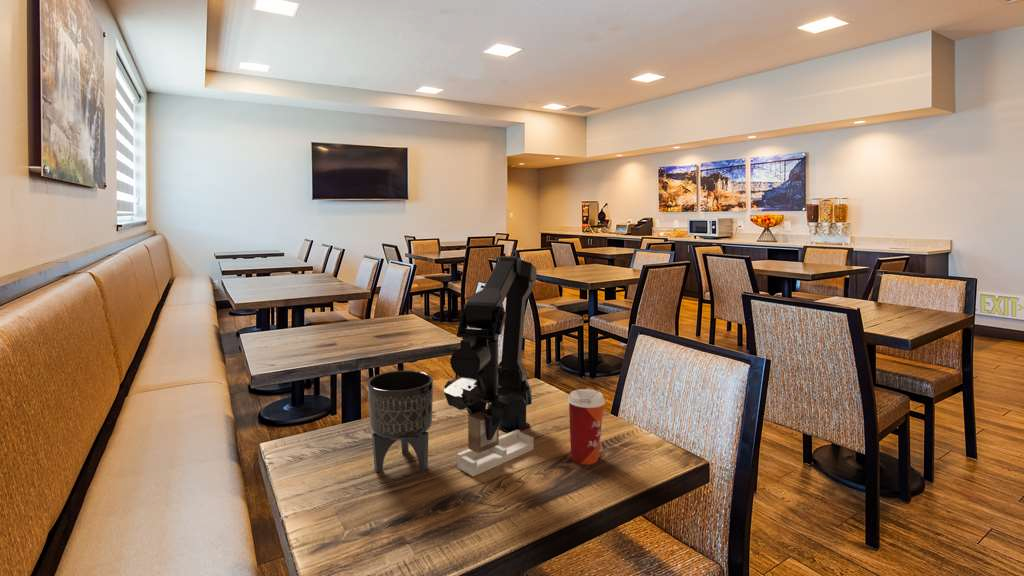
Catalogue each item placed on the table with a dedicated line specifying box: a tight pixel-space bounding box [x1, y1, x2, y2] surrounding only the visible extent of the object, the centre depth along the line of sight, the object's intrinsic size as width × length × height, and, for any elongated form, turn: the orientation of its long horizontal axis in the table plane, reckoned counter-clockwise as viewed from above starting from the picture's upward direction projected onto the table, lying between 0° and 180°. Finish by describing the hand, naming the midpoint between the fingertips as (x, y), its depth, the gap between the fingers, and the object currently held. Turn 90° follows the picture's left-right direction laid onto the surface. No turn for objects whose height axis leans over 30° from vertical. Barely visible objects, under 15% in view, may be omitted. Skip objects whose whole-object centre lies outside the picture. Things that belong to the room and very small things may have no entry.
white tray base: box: [456, 429, 535, 477], centre depth 113 cm, size 5×17×3 cm, turn 134°
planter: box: [366, 370, 434, 473], centre depth 109 cm, size 13×13×18 cm
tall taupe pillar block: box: [467, 411, 500, 453], centre depth 109 cm, size 6×3×7 cm, turn 134°
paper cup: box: [567, 388, 606, 466], centre depth 112 cm, size 8×8×14 cm
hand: (483, 437), depth 109 cm, fingers closed on tall taupe pillar block, 3 cm apart
